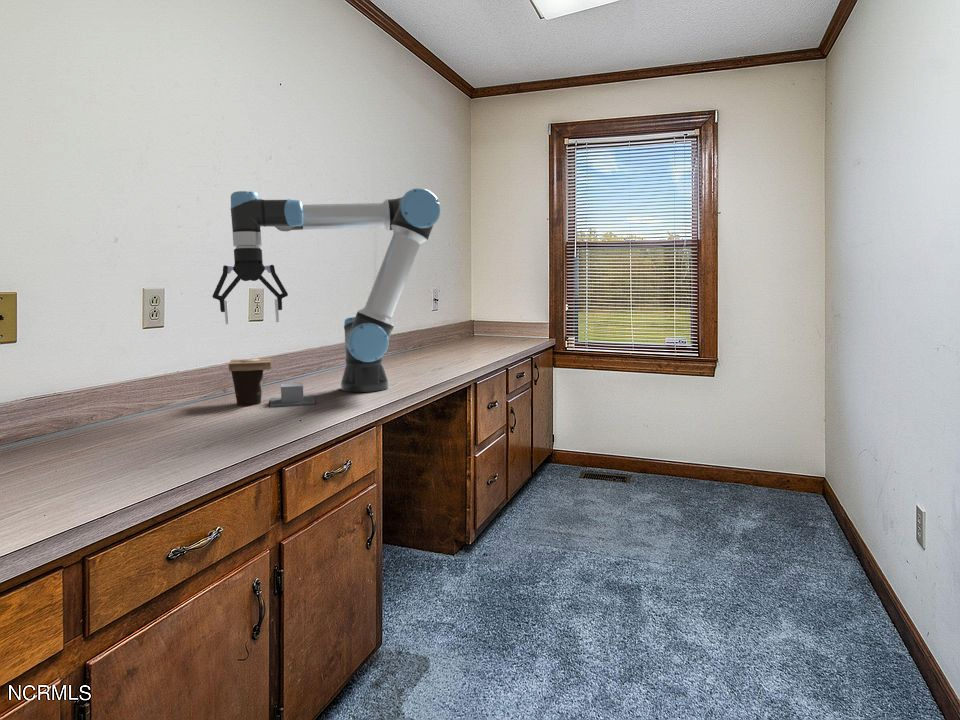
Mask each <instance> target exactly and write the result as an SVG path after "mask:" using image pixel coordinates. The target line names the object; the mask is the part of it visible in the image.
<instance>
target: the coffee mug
mask: <svg viewBox="0 0 960 720" xmlns="http://www.w3.org/2000/svg"><path fill="white" fill-rule="evenodd" d="M230 372H231V377H232V382H233V389H234V394H235V399H236V404H237V406H241V407H242V406H243V407H244V406H256V405H260V404H262V394H263V393H262V392H263V391H262V390H263V379H264V370H247V371H230Z"/></svg>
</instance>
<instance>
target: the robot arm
mask: <svg viewBox="0 0 960 720" xmlns="http://www.w3.org/2000/svg"><path fill="white" fill-rule="evenodd" d="M440 215H441V204H440V201H439V199H438V197H437V196H436V195H435V194H434V192H432V191H430V190H429V189H426V188H422V187H421V188H419V187H418V188H412V189H410V190H408V191H406V192H405V194H404V195H403V196H401V197H398V198H390V199H387V198H386V199H385V200H384V201H383V202H364V203H359V202H358V203H356V202H355V203H327V204H326V203H325V204H324V203H322V204H321V203H320V204H313V203H312V204H303V202H302V201H301V200H299V199H290V198H288V199H262V198H260V197H259V193H258V192H256V191H252V190H251V191H247V190H246V191H245V190H240V191H234V192H232V193H231V195H230V217H231V229H232V243H233V244H232V245H233V247H235V248H234V249H233V258H234V265H233V266H230V265H223V267H222V273H221V276H220V278H219V281H218V283H217V285H216V287H215V289H214V292H213V294H212V299H215V300H218V301H219V308H220V309H219V310H220V312H221V313H224V318H225V325H229V324H230V320H229V319H230V318H229V304H228V300H226V298H227V297H228V296H229V294H230V293H231V292H232V291H233V290H234V288H235V287H236V286H237V285H238V283H240V281H243V282H249V281H250V282H251V281H253V282H256V281H258V280H259V281H260V282H261V283H262V284H263V285H264V286H265V287H266V288H267V289H268V290H269V292H271V293H272V294H273V295H274V297H276V298H275V299H274V309H275V310H274V311H275V312H274V313H275V322H276V323H279V322H280V320H279V318H280V317H279V311H282V310H283V300H282V299H284V298H286V297H288V295H289V294H288V291H287V289H286V288H285V287H284V285H283V283H282V282H281V280H280V277H279V276H278V274H277V273H276V270H275V265H274V264H270V265H264V263H263V261H264V260H263V250H262V249H261V247H262V232H261V231H262V230H261V227H272V228H273V227H274V228H275V229H277V230H278V231H280V232H290V231H302V230H333V229H335V230H336V229H337V230H338V229H367V228H369V229H370V228H384V229H386V230H387V231H392V232H393V234H392V236H391V239H390V242H389V244H388V247H387V249H386V252H385V255H384V257H383V260H382V263H381V265H380V267H379V270H378V272H377V275H376V278H375V279H374V283H373V285H372V288H371V291H370V293H369V295H368V298H367V301H366V303H365V305H364V307H363V308H362V309H359V310H357V312H356V314H355V316H352V317H351V316H350V317H346V318H345V319H344V325H343V329H344V349H345V353H344V354H345V355H344V356H345V367H344V371H343V374H342V378H341V381H340V390H342V391H344V392H350V393H365V392H366V393H367V392H370V393H371V392H377V391H383V390H387V389H389V380H388V377H387V373H386V370H385V368H384V364H383V356H385V354H386V352H387V351H388V349H389V345H390V343H389V341H390V337H391V335H392V331H393V330H394V327H395V323H394V322H393V321H394V320H393V316H394V313H395V310H396V308H397V305H398V304H399V303H398V302H399V300H400V297H401V295H402V292H403V291H404V287H405V284H406V282H407V280H408V277H409V275H410V272H411V270H412V267H413V264H414V263H415V262H414V261H415V259H416V257H417V255H418V251H419V249H420V246H421V245H422V244H424V243H426V242H428V239H429V237H430V235H431V232H432V230H433V227H434V225H435V224H436V223H437V222H438V220H439V218H440ZM232 271H233V272H234V273H235V274H236V275H237V276H236V277H235V278H234V279H233V281H231V283H230V285H229V286H228V287H227V288H226V289H225V291H224V292H223V293H222V294H221V295H219V294H220V292H221V290H222V288H223V287H224V286H223V285H224V284H225V281H226V279H227V277H228V274H231V272H232ZM265 271H267V273H269V274H271V276H272V279H273V280H274V282H275V283H276V285H277V287H278V288H279V290H280V292H281V293H279V292H278V291H277V289H275V287H274V286H273V285H271V284H270V282H269V281H268V280H267V279H266V278H265V277H264V276H263V273H264V272H265Z"/></svg>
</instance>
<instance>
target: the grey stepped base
mask: <svg viewBox="0 0 960 720" xmlns="http://www.w3.org/2000/svg"><path fill="white" fill-rule="evenodd" d="M280 395H281V397H273V398H272V397H271V398H270V402H269V403H270V408H279V407H292V406H293V407H294V406H295V407H296V406H311V405H313V406H314V405H316V401H315V399H314V396H313V395H305V396H304V384H303V382H294V383H281V384H280Z"/></svg>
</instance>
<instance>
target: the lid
mask: <svg viewBox="0 0 960 720" xmlns="http://www.w3.org/2000/svg"><path fill="white" fill-rule="evenodd" d="M247 370H263V371H264V370H267V371H268V370H272V358H270V357H269V358H268V357H267V358H248V359H247V358H246V359H244V358H243V359H231V360H230V361H229V363H228V371H229V372H231V371H247Z"/></svg>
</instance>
